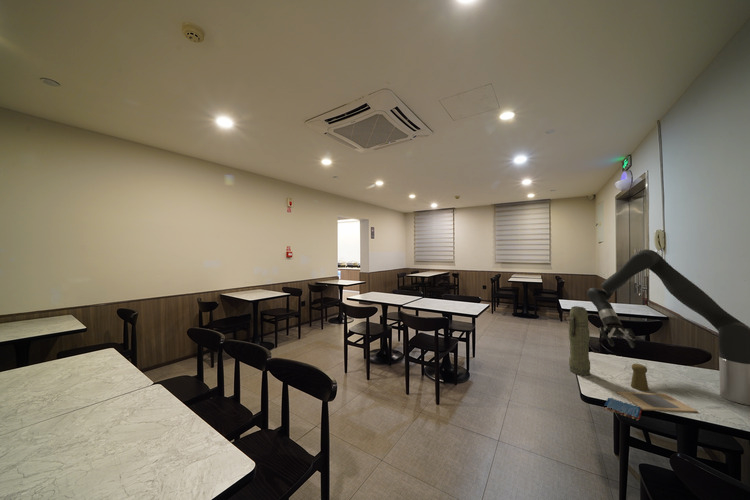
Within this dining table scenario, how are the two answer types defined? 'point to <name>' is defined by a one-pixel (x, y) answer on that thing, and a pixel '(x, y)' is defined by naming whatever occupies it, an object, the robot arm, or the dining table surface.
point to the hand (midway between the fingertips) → (623, 346)
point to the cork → (639, 377)
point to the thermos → (579, 341)
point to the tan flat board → (656, 402)
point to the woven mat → (623, 408)
